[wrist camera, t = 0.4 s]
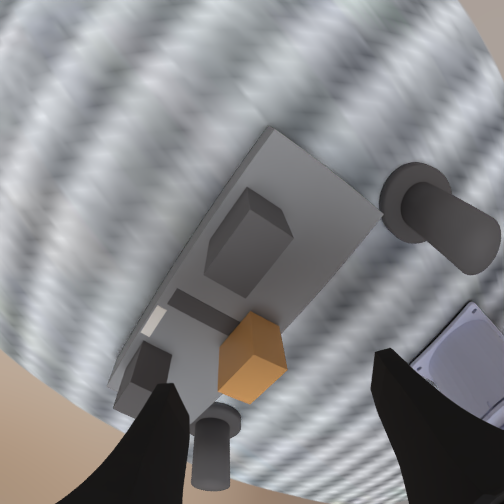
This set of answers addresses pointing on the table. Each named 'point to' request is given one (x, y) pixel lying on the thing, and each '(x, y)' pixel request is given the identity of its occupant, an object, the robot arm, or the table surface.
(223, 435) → the post
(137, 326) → the box
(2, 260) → the table surface
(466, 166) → the table surface
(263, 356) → the switch
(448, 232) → the grey disc-based knob
